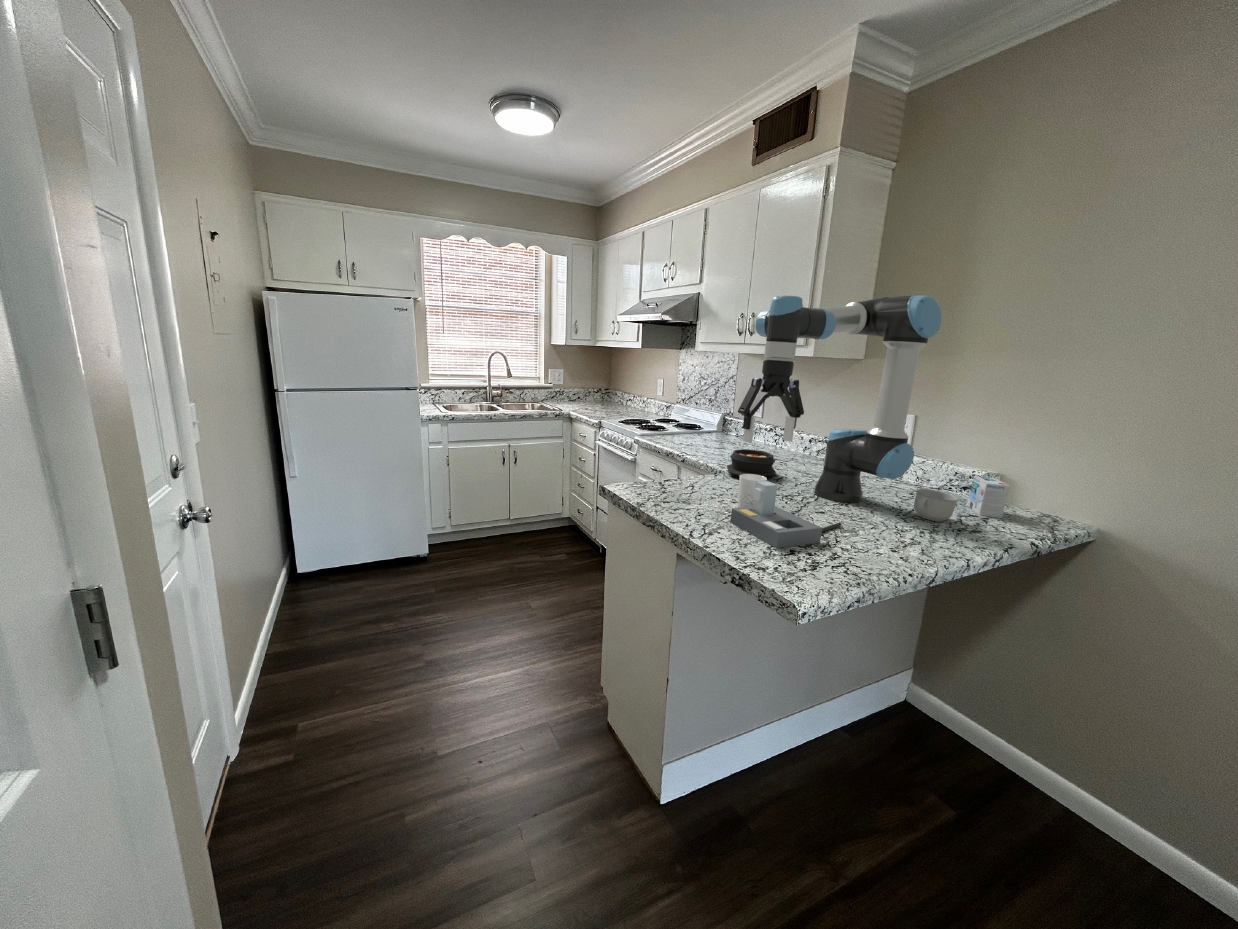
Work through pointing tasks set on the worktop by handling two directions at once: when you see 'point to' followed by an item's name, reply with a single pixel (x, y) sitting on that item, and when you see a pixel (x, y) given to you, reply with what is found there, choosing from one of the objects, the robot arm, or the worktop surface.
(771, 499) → the plug
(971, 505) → the light bulb box
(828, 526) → the patch cord
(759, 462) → the casserole
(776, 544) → the panel
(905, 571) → the worktop surface
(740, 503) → the white cup
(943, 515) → the teacup
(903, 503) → the worktop surface
